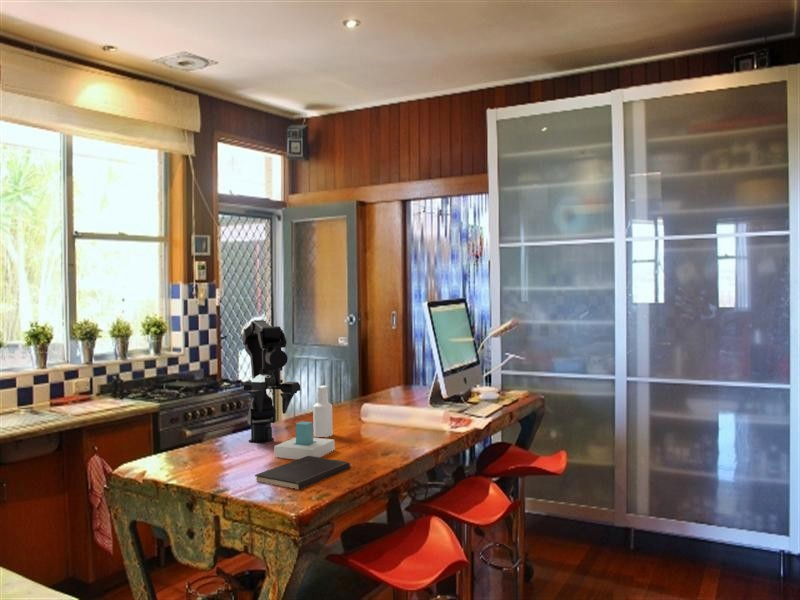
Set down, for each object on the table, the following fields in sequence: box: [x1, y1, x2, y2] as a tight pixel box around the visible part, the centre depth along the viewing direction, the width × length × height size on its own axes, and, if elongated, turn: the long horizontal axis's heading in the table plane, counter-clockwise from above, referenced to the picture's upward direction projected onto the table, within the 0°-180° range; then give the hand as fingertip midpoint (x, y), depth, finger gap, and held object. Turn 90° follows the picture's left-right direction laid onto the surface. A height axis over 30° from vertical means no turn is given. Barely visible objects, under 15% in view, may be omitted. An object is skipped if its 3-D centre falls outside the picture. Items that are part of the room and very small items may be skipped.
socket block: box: [273, 436, 336, 460], centre depth 204 cm, size 14×14×4 cm
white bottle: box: [312, 385, 334, 438], centre depth 229 cm, size 7×7×18 cm
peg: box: [295, 420, 314, 446], centre depth 204 cm, size 4×4×10 cm
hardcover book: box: [254, 456, 351, 491], centre depth 182 cm, size 16×23×2 cm
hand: (272, 412), depth 207 cm, fingers open, 9 cm apart
